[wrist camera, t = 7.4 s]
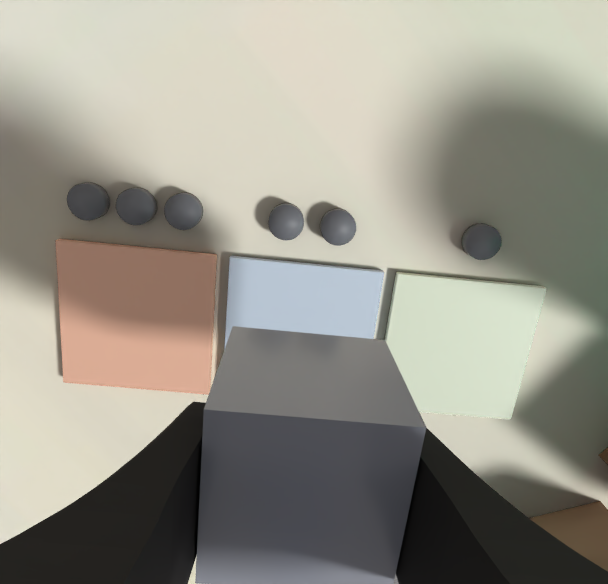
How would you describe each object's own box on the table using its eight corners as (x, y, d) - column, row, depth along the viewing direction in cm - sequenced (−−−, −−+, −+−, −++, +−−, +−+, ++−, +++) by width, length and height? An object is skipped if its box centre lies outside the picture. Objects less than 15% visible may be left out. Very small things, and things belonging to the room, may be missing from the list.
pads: (507, 415, 19) (513, 422, 18) (67, 378, 18) (60, 385, 17) (557, 231, 17) (565, 234, 16) (56, 179, 16) (49, 180, 15)
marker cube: (363, 467, 13) (391, 595, 10) (224, 456, 13) (195, 583, 9) (385, 340, 12) (426, 427, 8) (232, 326, 12) (203, 409, 8)
